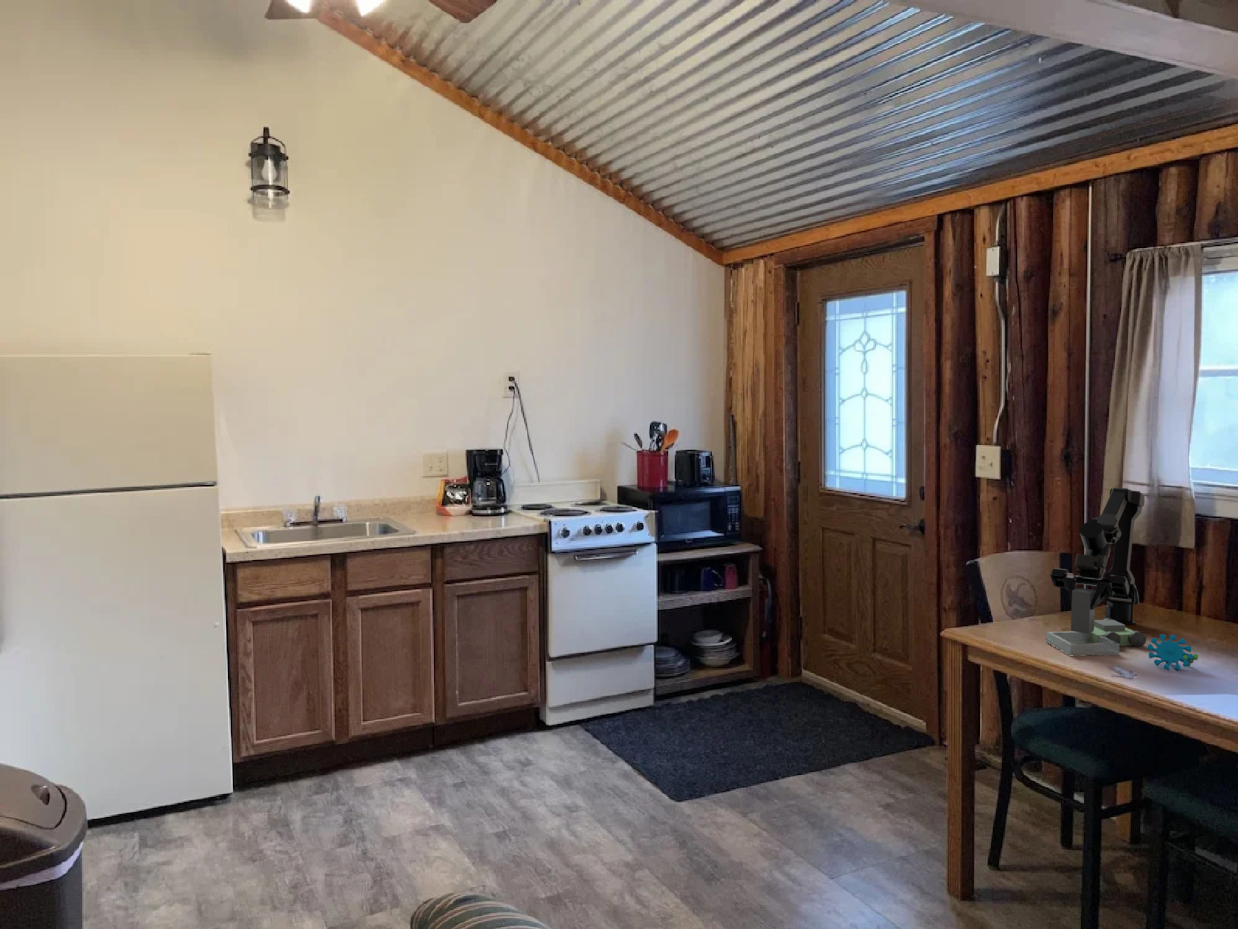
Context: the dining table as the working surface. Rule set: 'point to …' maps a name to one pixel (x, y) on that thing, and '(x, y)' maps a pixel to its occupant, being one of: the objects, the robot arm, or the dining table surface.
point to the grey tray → (1082, 643)
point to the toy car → (1117, 633)
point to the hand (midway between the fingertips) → (1081, 607)
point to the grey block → (1082, 610)
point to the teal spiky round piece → (1171, 652)
